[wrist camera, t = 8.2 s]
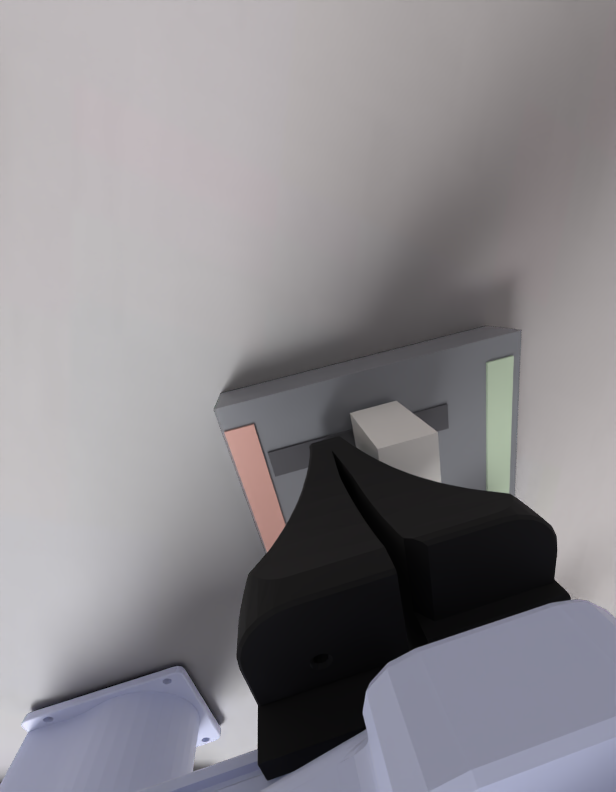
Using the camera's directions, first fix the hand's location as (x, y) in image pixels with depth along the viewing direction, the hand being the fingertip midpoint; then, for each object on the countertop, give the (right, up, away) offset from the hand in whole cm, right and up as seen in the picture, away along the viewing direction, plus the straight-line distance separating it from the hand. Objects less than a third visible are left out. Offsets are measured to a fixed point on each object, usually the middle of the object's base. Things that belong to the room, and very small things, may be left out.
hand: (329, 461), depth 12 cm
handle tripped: (+2, +1, +1) cm, 2 cm away
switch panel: (+4, -6, +6) cm, 9 cm away
